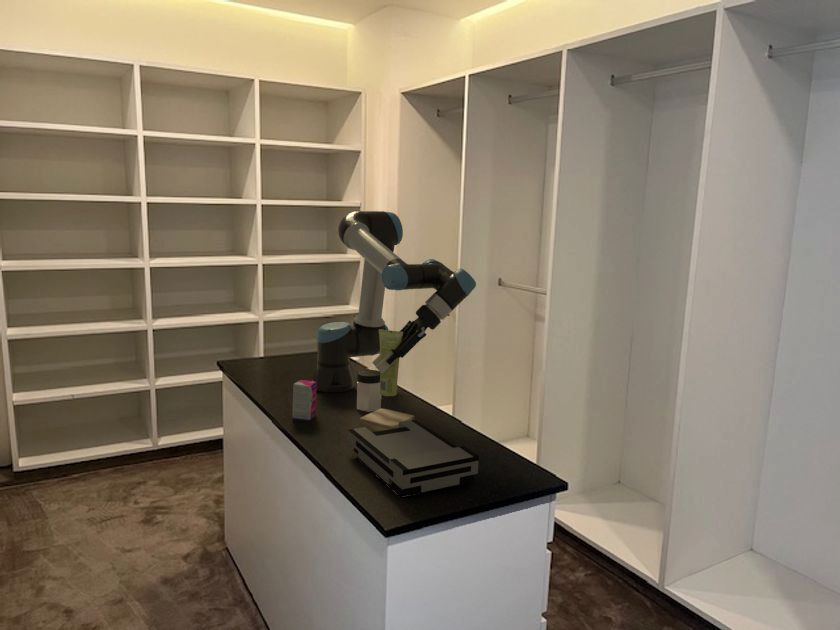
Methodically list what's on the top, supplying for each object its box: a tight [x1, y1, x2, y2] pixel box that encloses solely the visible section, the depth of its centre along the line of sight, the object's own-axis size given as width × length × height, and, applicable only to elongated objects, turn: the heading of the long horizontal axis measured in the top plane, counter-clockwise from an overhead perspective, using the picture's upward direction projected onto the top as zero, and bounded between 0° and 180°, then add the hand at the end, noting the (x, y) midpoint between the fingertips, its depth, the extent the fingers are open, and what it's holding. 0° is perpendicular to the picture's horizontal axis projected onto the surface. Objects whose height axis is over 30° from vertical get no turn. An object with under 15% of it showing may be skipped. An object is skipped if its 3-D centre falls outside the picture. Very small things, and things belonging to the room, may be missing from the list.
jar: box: [356, 369, 383, 413], centre depth 210 cm, size 9×8×12 cm
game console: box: [346, 419, 480, 498], centre depth 163 cm, size 21×32×8 cm, turn 29°
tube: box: [379, 329, 403, 397], centre depth 188 cm, size 6×5×20 cm
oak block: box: [358, 407, 415, 432], centre depth 191 cm, size 12×12×4 cm
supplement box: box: [291, 379, 317, 422], centre depth 198 cm, size 6×6×12 cm
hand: (377, 367), depth 187 cm, fingers closed on tube, 5 cm apart
